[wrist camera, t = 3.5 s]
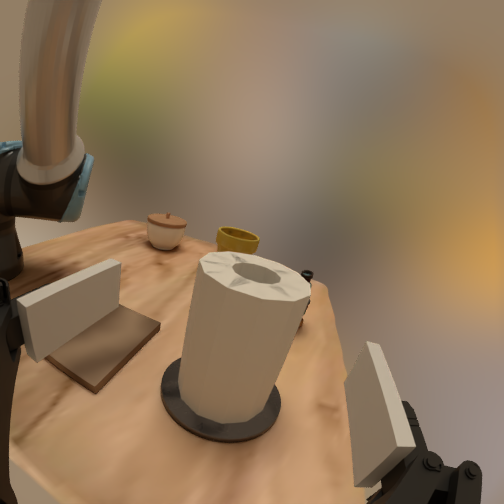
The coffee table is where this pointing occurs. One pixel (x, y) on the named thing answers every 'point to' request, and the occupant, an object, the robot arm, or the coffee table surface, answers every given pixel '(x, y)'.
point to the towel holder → (210, 427)
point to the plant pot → (236, 240)
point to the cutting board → (104, 347)
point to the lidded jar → (165, 230)
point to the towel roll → (238, 334)
